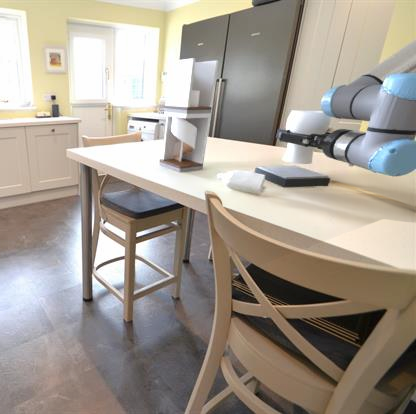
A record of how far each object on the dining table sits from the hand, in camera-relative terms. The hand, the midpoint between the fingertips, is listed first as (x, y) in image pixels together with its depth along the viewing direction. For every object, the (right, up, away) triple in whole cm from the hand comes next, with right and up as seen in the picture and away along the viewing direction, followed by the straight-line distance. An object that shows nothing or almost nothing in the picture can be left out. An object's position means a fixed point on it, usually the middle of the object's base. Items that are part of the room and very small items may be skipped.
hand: (296, 133), depth 90 cm
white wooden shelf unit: (-33, -9, +15) cm, 37 cm away
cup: (0, -9, -1) cm, 9 cm away
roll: (-23, -19, -9) cm, 31 cm away
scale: (-1, -14, +1) cm, 15 cm away
